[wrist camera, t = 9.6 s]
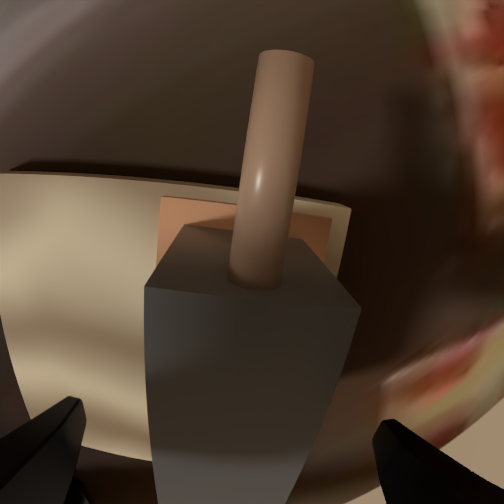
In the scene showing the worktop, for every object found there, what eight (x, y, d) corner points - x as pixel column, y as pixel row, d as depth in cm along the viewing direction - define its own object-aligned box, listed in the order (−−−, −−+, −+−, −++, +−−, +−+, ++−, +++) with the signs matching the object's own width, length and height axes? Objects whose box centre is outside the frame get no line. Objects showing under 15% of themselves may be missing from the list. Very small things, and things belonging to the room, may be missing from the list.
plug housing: (264, 413, 15) (280, 513, 9) (174, 405, 14) (158, 506, 8) (323, 110, 11) (403, 74, 5) (201, 90, 10) (175, 29, 5)
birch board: (275, 453, 18) (278, 471, 16) (43, 416, 16) (34, 431, 15) (339, 203, 14) (352, 209, 12) (7, 170, 12) (-12, 173, 10)
